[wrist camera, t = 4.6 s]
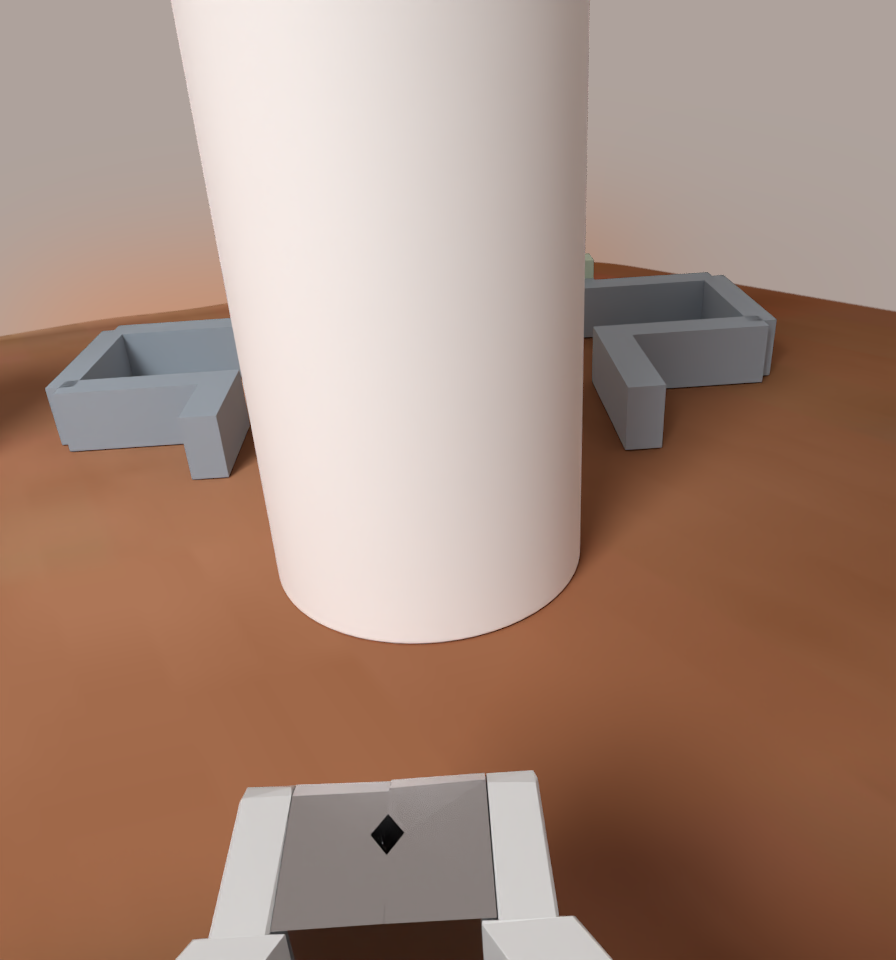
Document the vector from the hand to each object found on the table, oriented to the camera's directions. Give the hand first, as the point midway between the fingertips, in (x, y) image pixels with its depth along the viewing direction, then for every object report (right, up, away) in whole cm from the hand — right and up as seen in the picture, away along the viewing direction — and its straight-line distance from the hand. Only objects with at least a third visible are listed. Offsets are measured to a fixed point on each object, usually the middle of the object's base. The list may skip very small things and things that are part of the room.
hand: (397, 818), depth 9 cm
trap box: (0, +7, +25) cm, 26 cm away
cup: (0, +2, +15) cm, 15 cm away
